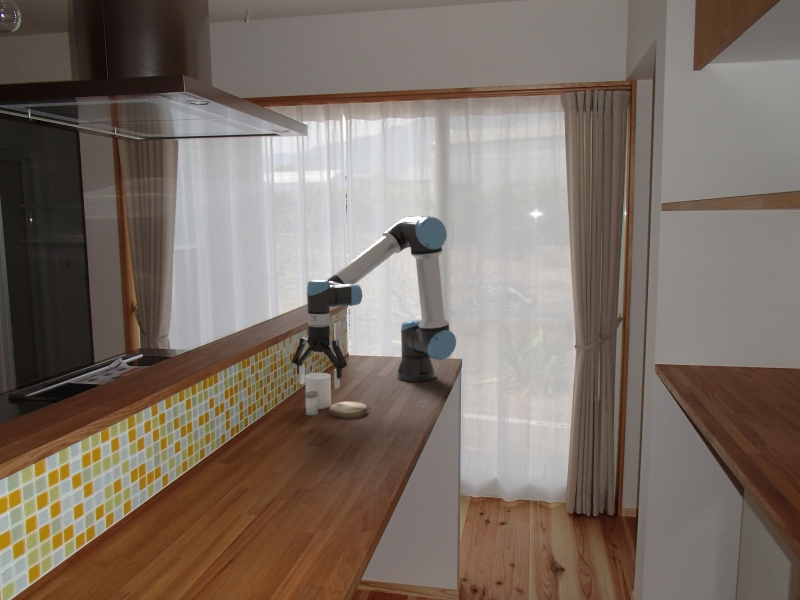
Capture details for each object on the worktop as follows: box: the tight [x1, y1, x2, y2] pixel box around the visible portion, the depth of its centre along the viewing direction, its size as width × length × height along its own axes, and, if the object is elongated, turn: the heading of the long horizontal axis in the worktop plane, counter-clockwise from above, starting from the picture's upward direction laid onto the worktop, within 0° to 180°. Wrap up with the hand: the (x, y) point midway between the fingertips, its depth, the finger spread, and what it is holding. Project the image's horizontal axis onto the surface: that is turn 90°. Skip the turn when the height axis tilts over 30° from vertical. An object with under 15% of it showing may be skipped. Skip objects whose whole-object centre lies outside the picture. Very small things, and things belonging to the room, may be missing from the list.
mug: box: [304, 372, 332, 410], centre depth 228 cm, size 9×12×11 cm
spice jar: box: [304, 391, 319, 416], centre depth 218 cm, size 4×4×7 cm
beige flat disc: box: [328, 400, 369, 420], centre depth 219 cm, size 13×13×2 cm
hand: (319, 385), depth 227 cm, fingers open, 13 cm apart
